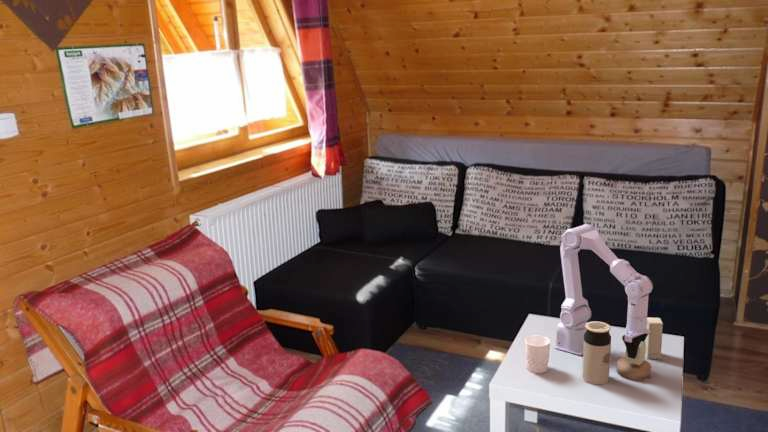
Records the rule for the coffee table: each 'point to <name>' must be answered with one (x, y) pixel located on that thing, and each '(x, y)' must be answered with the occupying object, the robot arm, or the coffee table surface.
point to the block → (638, 354)
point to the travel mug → (596, 352)
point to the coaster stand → (633, 370)
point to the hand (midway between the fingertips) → (634, 354)
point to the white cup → (537, 353)
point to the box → (654, 338)
